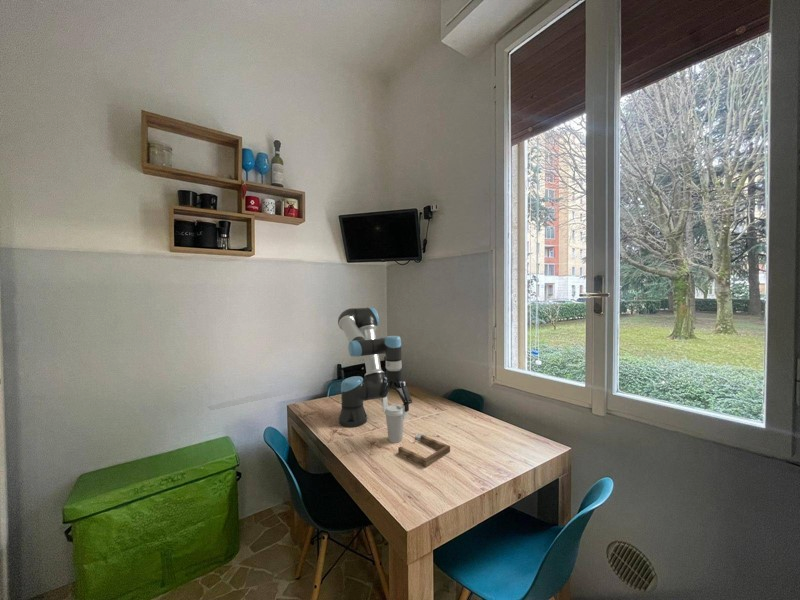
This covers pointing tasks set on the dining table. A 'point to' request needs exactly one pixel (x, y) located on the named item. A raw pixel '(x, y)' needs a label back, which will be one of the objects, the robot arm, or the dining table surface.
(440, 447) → the bracket
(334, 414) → the dining table surface
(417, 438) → the slate tile
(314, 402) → the dining table surface
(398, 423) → the coffee cup
